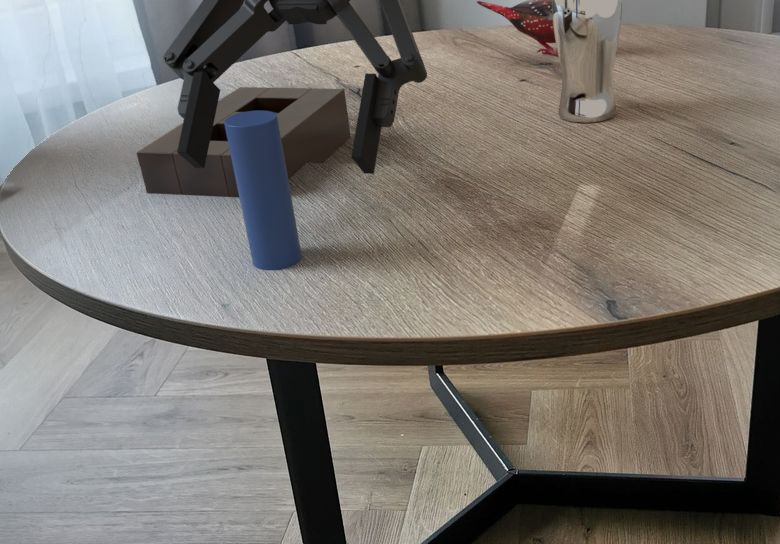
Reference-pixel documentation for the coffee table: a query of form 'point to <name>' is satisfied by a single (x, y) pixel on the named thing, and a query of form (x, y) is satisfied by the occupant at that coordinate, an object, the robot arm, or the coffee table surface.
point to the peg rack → (178, 177)
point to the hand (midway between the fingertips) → (274, 163)
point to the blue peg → (263, 189)
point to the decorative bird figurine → (530, 20)
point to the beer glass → (587, 57)
